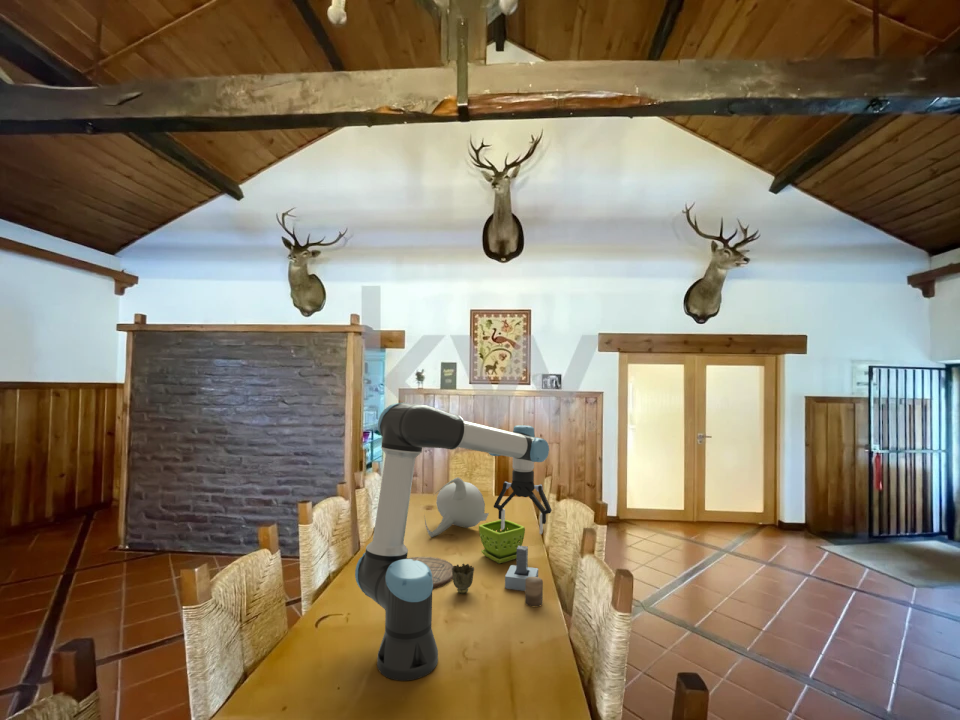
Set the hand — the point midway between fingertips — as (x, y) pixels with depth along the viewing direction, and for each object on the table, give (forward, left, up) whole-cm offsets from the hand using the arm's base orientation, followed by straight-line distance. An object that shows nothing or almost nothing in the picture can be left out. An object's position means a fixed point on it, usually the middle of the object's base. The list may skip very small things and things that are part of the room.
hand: (521, 530), depth 162 cm
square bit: (0, 0, -18) cm, 18 cm away
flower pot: (+21, +12, -19) cm, 31 cm away
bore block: (0, 0, -18) cm, 18 cm away
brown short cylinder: (-12, -6, -18) cm, 23 cm away
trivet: (-3, +37, -19) cm, 41 cm away
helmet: (+46, +38, -19) cm, 63 cm away
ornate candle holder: (-12, +18, -19) cm, 28 cm away
